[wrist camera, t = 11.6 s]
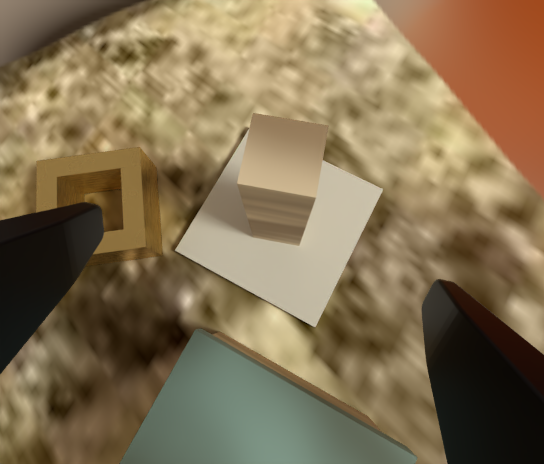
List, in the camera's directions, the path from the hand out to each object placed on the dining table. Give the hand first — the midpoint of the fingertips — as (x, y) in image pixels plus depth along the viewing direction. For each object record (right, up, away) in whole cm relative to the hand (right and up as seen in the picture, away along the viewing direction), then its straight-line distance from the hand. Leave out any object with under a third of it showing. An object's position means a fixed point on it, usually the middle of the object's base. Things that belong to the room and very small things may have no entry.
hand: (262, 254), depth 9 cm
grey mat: (+1, +1, +14) cm, 14 cm away
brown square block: (+1, +1, +13) cm, 13 cm away
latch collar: (-10, +2, +14) cm, 17 cm away
